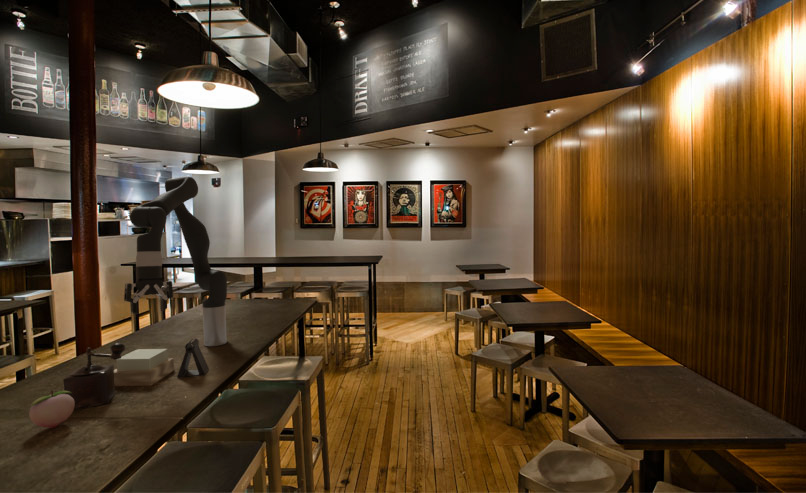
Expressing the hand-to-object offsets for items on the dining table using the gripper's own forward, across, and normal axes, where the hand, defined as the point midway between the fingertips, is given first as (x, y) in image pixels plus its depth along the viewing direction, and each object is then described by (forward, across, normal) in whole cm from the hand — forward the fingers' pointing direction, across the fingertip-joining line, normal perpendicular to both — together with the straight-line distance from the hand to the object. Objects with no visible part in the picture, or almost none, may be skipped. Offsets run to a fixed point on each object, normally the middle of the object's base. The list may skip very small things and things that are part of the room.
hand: (149, 312), depth 139 cm
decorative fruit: (+27, +28, +13) cm, 40 cm away
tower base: (+24, -1, -8) cm, 25 cm away
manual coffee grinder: (+25, +14, +2) cm, 29 cm away
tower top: (+19, -1, -7) cm, 20 cm away
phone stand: (+24, -13, +2) cm, 27 cm away
